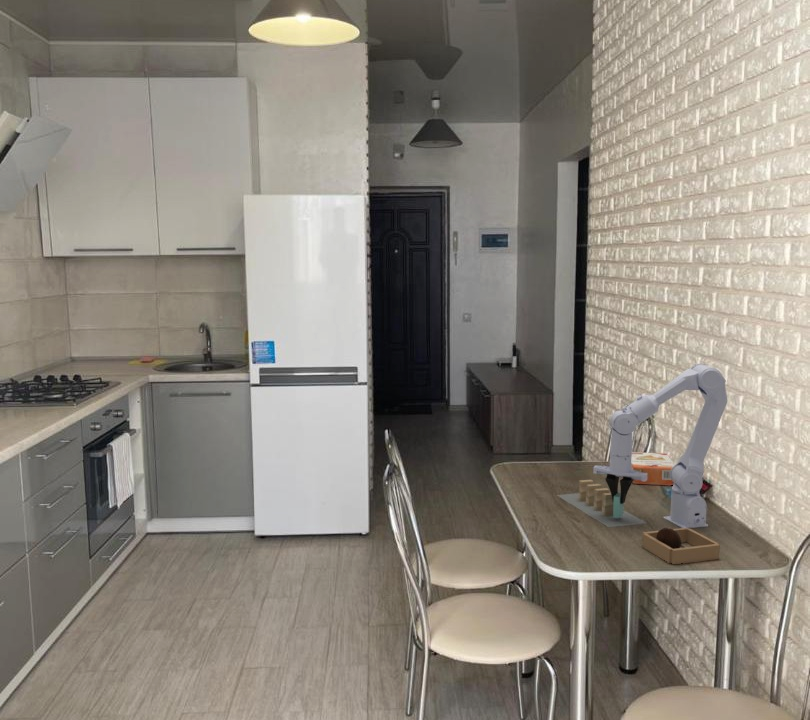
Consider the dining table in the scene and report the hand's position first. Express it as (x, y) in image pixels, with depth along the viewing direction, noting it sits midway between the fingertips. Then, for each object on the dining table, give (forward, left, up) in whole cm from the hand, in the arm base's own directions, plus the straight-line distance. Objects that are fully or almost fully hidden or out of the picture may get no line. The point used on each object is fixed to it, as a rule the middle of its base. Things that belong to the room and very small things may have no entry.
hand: (618, 502), depth 219 cm
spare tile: (0, 0, -4) cm, 4 cm away
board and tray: (-3, -2, -5) cm, 6 cm away
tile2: (+4, 0, -5) cm, 7 cm away
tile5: (+18, 0, -5) cm, 19 cm away
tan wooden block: (+9, 0, -5) cm, 10 cm away
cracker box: (+27, -30, -2) cm, 40 cm away
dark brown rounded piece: (-24, 0, -6) cm, 24 cm away
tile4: (+13, 0, -5) cm, 14 cm away
